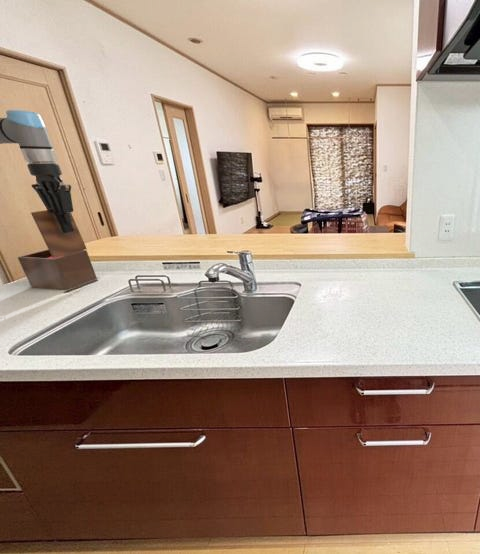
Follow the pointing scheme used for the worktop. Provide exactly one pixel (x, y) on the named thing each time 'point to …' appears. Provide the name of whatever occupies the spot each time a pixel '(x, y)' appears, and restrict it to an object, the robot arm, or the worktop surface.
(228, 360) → the worktop surface
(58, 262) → the chest
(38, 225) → the chest lid
